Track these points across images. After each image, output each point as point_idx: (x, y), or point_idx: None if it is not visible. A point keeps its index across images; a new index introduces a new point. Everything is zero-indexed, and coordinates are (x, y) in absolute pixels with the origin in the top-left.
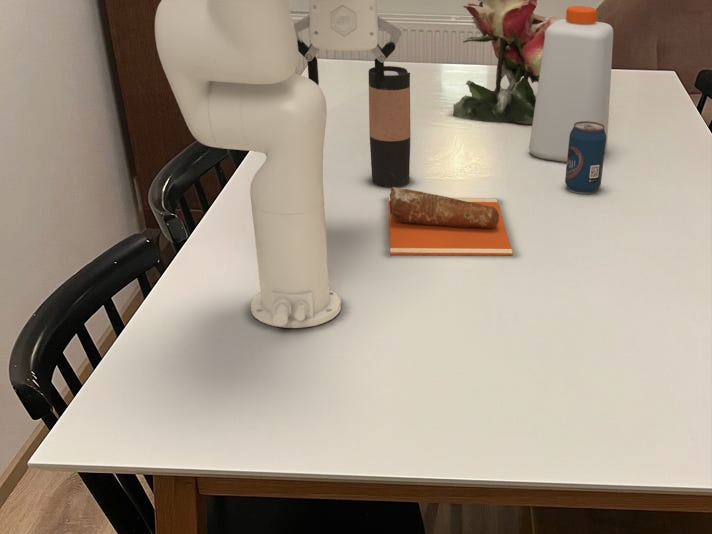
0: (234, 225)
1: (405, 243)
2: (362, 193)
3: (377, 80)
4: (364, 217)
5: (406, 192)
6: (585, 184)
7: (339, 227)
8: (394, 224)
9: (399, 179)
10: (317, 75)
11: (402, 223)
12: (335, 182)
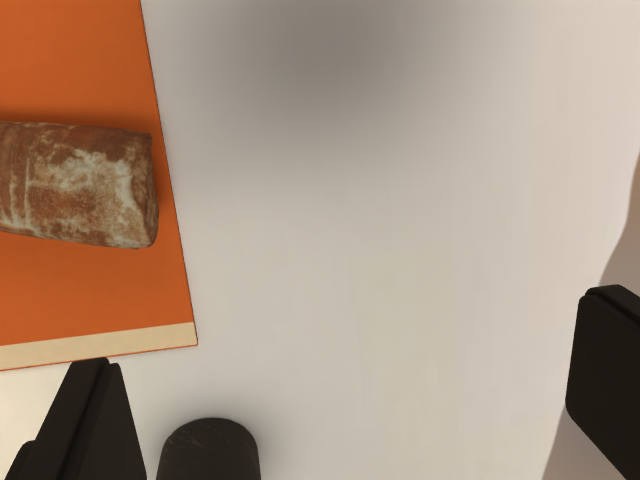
0: (585, 108)
1: None
2: (272, 369)
3: (75, 399)
4: (247, 207)
5: (89, 193)
6: None
7: (310, 122)
8: None
9: (179, 439)
10: (635, 369)
11: None
12: (346, 423)
